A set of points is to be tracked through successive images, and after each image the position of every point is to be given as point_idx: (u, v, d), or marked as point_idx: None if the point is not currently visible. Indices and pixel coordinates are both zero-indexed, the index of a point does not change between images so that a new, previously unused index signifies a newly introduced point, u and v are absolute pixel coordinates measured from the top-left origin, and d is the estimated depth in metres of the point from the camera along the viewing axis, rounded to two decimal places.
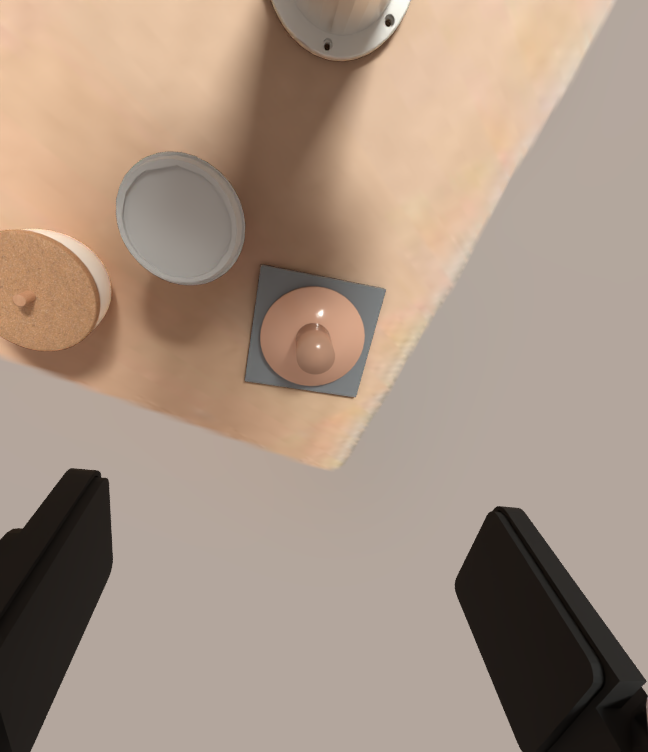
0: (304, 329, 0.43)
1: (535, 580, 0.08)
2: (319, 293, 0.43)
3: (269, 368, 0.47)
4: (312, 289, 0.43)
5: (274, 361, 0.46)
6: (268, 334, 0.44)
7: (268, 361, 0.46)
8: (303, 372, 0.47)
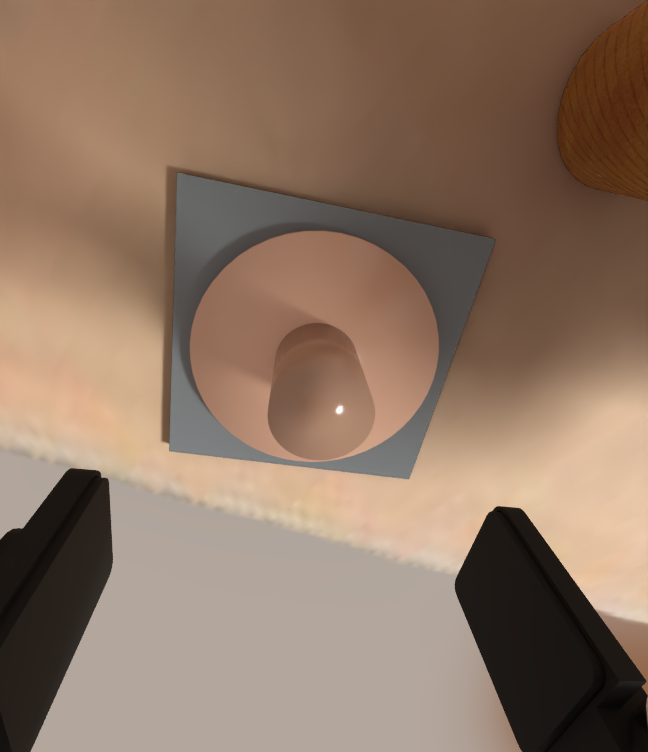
0: (355, 352, 0.18)
1: (535, 580, 0.08)
2: (423, 372, 0.20)
3: (227, 251, 0.17)
4: (434, 358, 0.19)
5: (255, 269, 0.17)
6: (331, 255, 0.17)
7: (253, 252, 0.17)
8: (227, 342, 0.18)
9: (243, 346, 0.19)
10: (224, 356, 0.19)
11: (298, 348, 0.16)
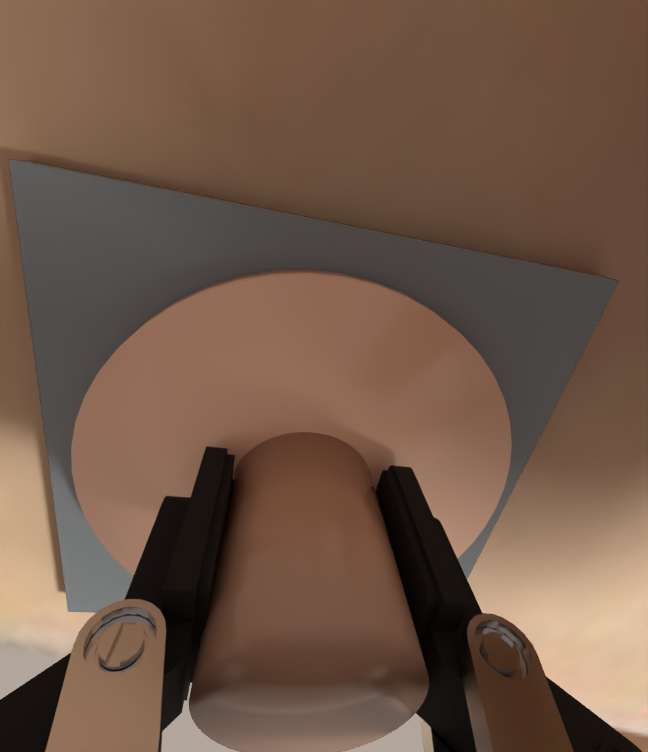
0: (372, 491, 0.10)
1: (403, 525, 0.09)
2: (482, 497, 0.12)
3: (130, 309, 0.09)
4: (500, 476, 0.11)
5: (180, 347, 0.09)
6: (326, 319, 0.09)
7: (173, 316, 0.09)
8: (141, 468, 0.10)
9: (171, 473, 0.10)
10: (138, 489, 0.11)
11: (263, 520, 0.08)
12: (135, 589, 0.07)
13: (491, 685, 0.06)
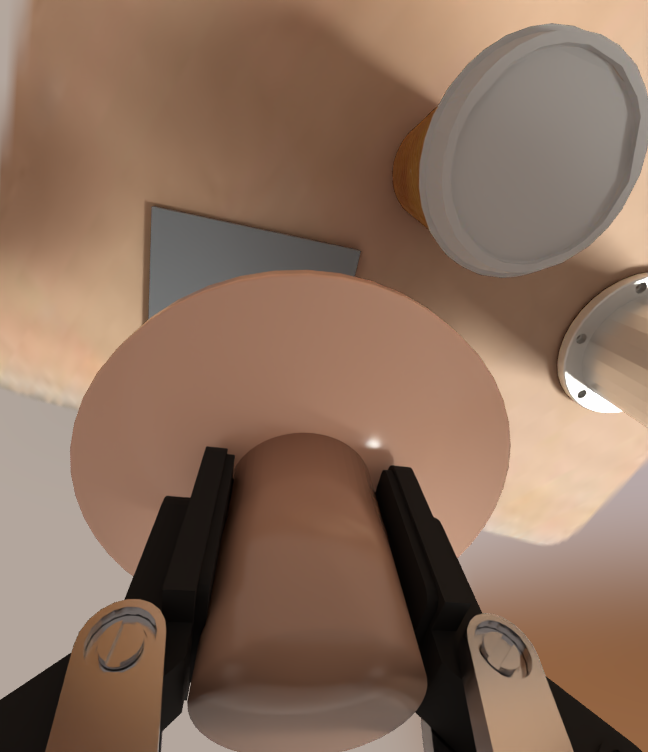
0: (371, 492, 0.10)
1: (403, 525, 0.09)
2: (481, 497, 0.12)
3: (185, 256, 0.27)
4: (499, 477, 0.11)
5: (179, 347, 0.09)
6: (324, 319, 0.09)
7: (172, 317, 0.09)
8: (140, 469, 0.10)
9: (170, 473, 0.10)
10: (137, 489, 0.11)
11: (261, 521, 0.08)
12: (135, 589, 0.07)
13: (491, 685, 0.06)
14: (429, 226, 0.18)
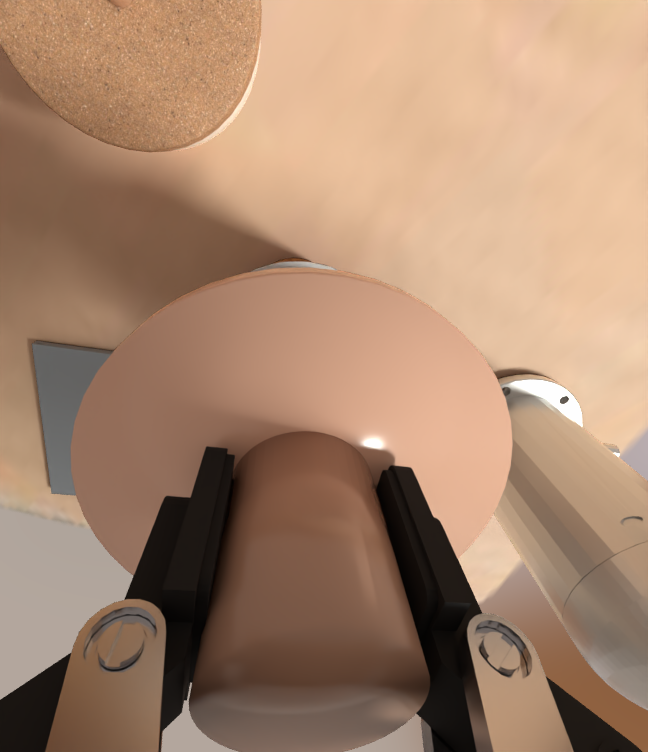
0: (372, 491, 0.10)
1: (403, 525, 0.09)
2: (482, 496, 0.12)
3: (68, 381, 0.30)
4: (501, 475, 0.11)
5: (180, 345, 0.09)
6: (326, 317, 0.09)
7: (173, 315, 0.09)
8: (140, 468, 0.10)
9: (170, 472, 0.10)
10: (138, 488, 0.11)
11: (263, 519, 0.08)
12: (135, 589, 0.07)
13: (491, 685, 0.06)
14: None
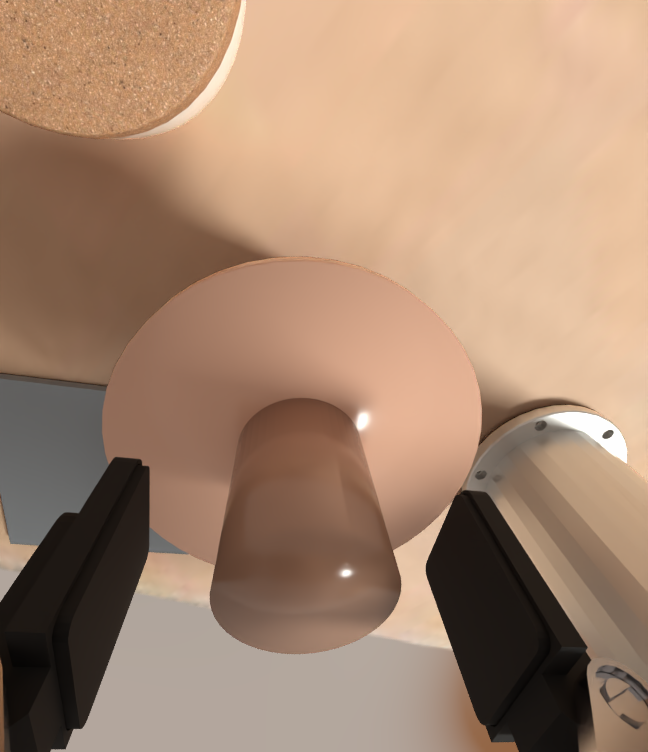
0: (359, 446, 0.11)
1: (493, 557, 0.08)
2: (458, 458, 0.13)
3: (23, 418, 0.25)
4: (473, 439, 0.13)
5: (197, 322, 0.11)
6: (318, 298, 0.11)
7: (191, 296, 0.10)
8: (161, 430, 0.12)
9: (187, 434, 0.12)
10: (158, 449, 0.12)
11: (267, 461, 0.09)
12: None
13: (608, 724, 0.06)
14: None
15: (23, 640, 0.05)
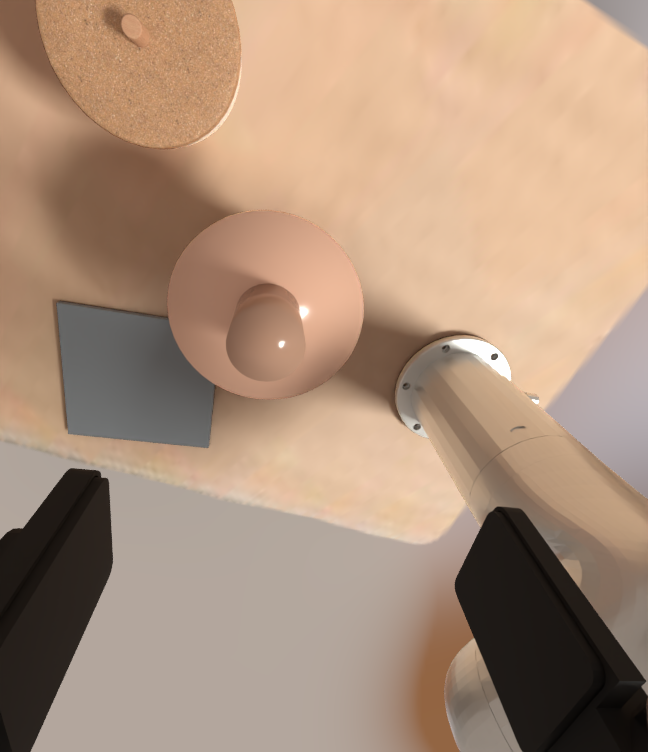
0: (296, 304, 0.23)
1: (535, 580, 0.08)
2: (353, 323, 0.25)
3: (85, 335, 0.36)
4: (360, 311, 0.25)
5: (216, 240, 0.22)
6: (275, 229, 0.22)
7: (214, 227, 0.22)
8: (197, 299, 0.23)
9: (209, 302, 0.24)
10: (195, 311, 0.24)
11: (249, 299, 0.21)
12: None
13: None
14: None
15: None
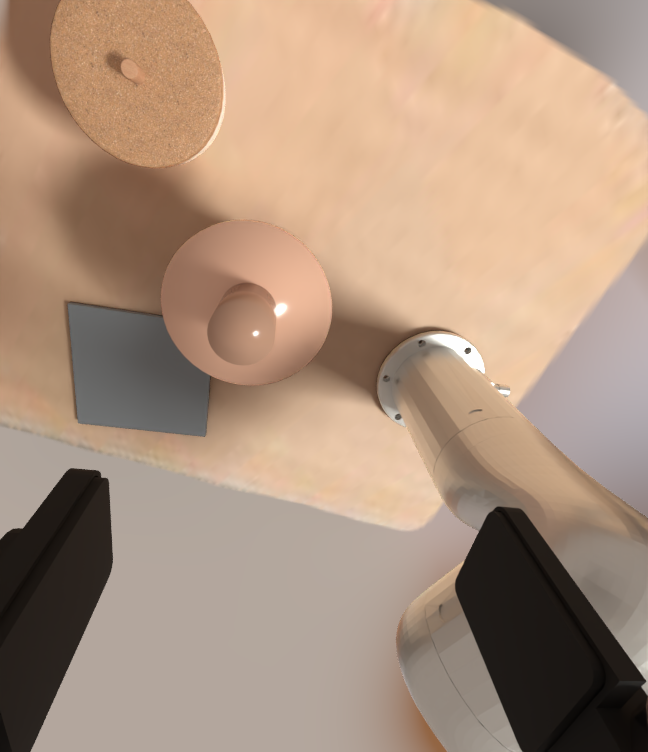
0: (270, 300, 0.27)
1: (535, 580, 0.08)
2: (323, 317, 0.29)
3: (93, 332, 0.40)
4: (329, 306, 0.28)
5: (202, 246, 0.26)
6: (251, 236, 0.26)
7: (199, 234, 0.26)
8: (186, 297, 0.27)
9: (197, 299, 0.27)
10: (184, 307, 0.28)
11: (229, 295, 0.25)
12: None
13: None
14: None
15: None
